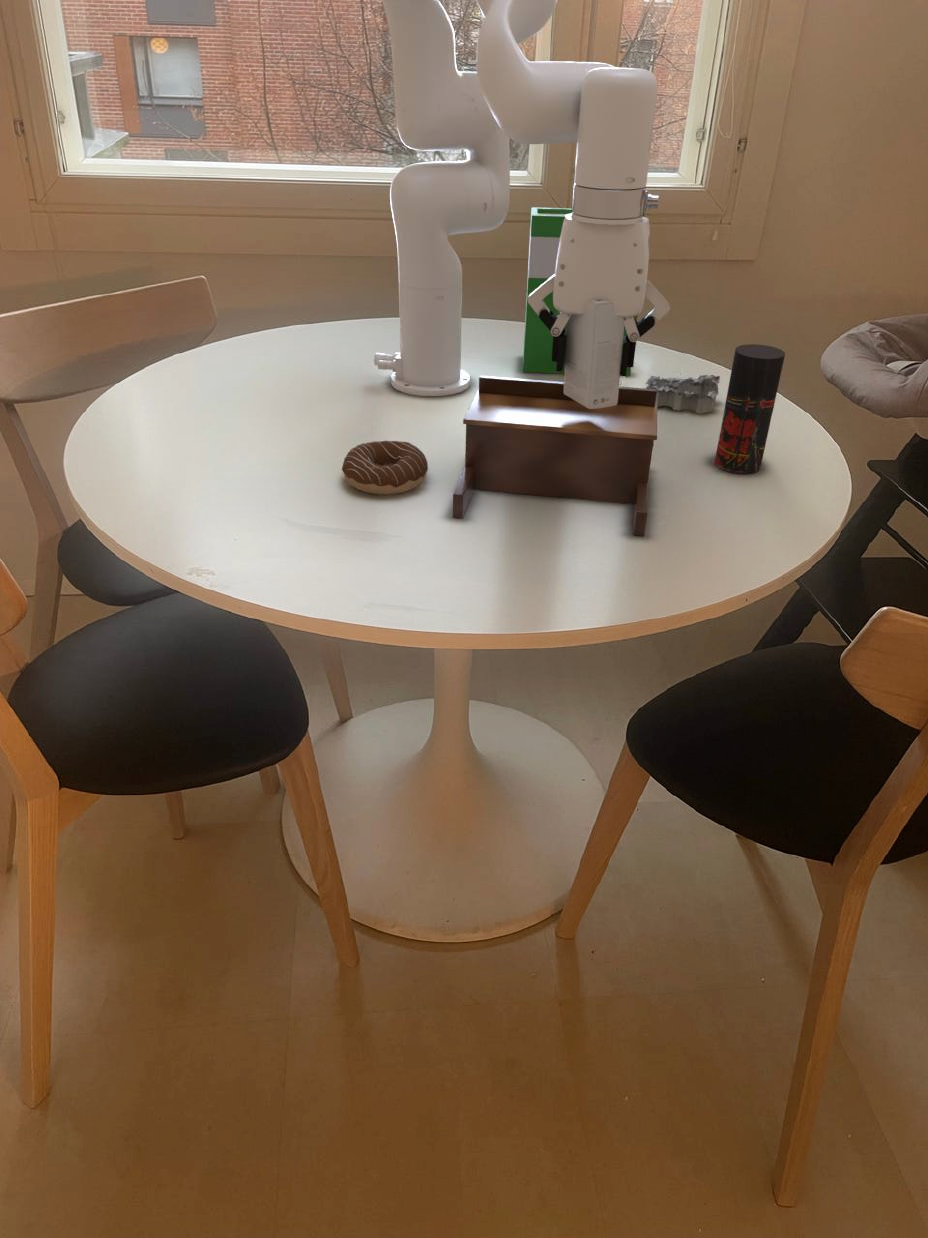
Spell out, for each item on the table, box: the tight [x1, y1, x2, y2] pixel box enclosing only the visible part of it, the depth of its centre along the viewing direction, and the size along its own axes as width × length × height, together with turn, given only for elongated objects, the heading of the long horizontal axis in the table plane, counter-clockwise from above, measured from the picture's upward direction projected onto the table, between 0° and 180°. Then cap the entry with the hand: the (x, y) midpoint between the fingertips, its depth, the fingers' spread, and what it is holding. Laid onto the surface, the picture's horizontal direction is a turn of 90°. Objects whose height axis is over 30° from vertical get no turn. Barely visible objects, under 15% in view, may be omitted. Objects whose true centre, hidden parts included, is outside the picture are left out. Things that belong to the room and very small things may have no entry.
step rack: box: [452, 375, 658, 537], centre depth 108 cm, size 23×18×11 cm
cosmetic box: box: [563, 300, 625, 409], centre depth 104 cm, size 6×4×12 cm
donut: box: [341, 440, 429, 495], centre depth 111 cm, size 11×11×4 cm
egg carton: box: [645, 374, 721, 415], centre depth 137 cm, size 11×8×4 cm
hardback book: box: [522, 206, 650, 377], centre depth 145 cm, size 18×7×24 cm, turn 87°
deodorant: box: [714, 343, 786, 475], centre depth 115 cm, size 6×6×15 cm
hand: (591, 369), depth 105 cm, fingers closed on cosmetic box, 6 cm apart
